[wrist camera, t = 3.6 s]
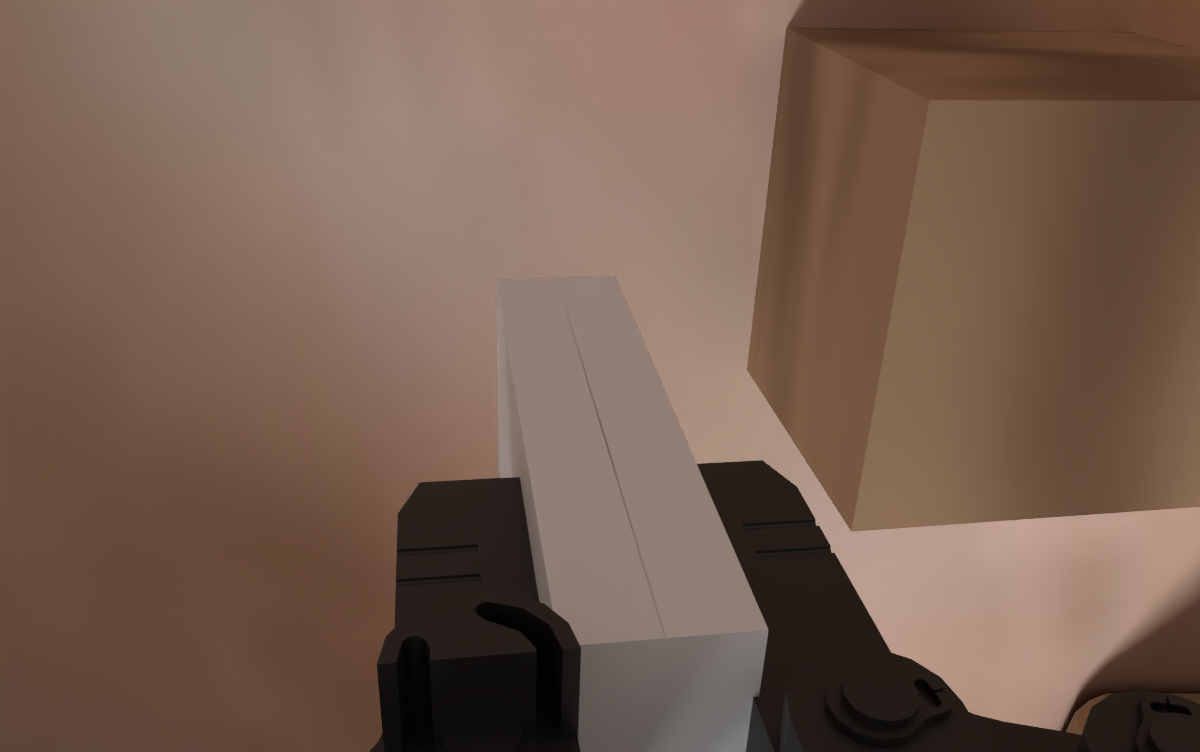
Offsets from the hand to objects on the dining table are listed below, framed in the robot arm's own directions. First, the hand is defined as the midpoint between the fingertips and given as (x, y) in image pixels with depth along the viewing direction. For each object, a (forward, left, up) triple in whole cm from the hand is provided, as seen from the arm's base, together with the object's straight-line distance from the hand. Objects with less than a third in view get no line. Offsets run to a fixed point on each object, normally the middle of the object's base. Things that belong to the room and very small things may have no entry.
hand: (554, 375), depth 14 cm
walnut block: (+9, 0, -7) cm, 11 cm away
